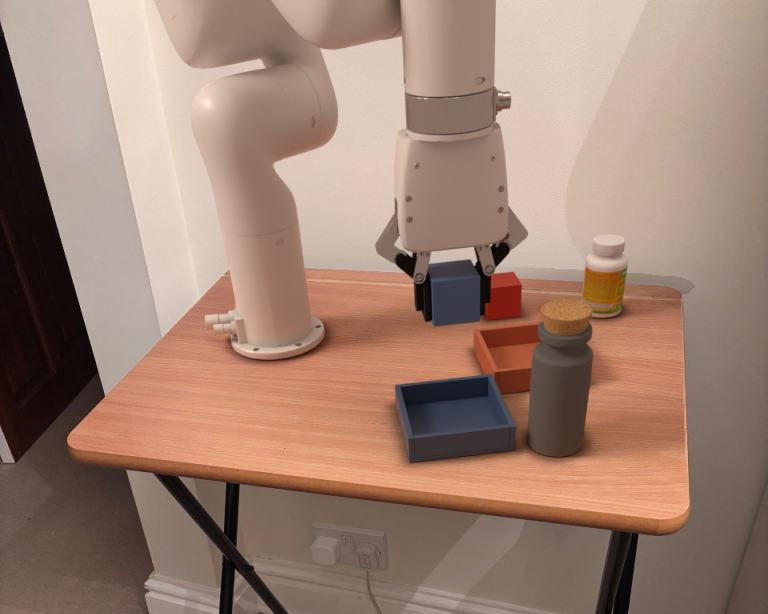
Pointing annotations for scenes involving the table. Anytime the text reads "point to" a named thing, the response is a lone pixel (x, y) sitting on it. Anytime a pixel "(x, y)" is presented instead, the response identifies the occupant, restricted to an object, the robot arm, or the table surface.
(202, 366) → the table surface
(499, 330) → the orange bin
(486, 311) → the red block
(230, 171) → the robot arm
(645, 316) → the table surface
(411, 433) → the blue bin
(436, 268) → the blue block
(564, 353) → the bottle
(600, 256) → the supplement bottle
